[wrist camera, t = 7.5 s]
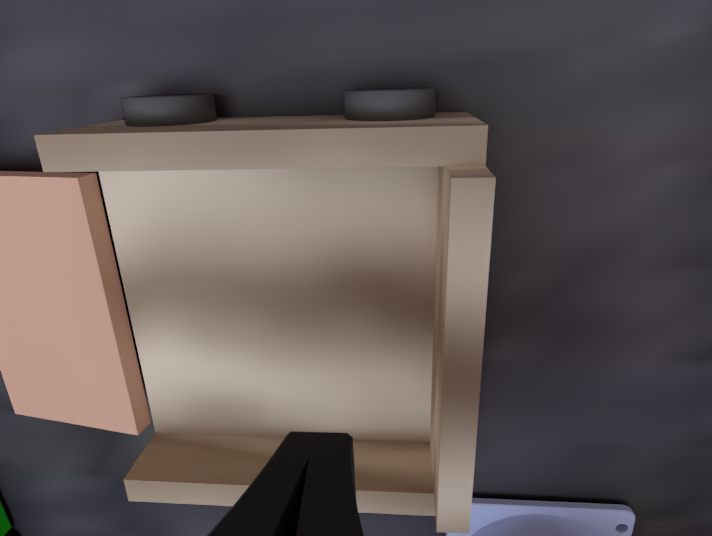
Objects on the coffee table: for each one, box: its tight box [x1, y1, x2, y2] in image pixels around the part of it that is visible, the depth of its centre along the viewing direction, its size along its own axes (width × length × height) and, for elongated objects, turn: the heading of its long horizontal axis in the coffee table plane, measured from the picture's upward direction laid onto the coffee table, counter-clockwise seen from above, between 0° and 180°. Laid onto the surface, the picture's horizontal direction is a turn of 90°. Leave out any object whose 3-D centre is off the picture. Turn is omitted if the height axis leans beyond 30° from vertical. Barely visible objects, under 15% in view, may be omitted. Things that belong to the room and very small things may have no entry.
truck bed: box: [34, 88, 496, 534], centre depth 17 cm, size 15×12×6 cm
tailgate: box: [0, 171, 151, 435], centre depth 18 cm, size 1×10×6 cm
